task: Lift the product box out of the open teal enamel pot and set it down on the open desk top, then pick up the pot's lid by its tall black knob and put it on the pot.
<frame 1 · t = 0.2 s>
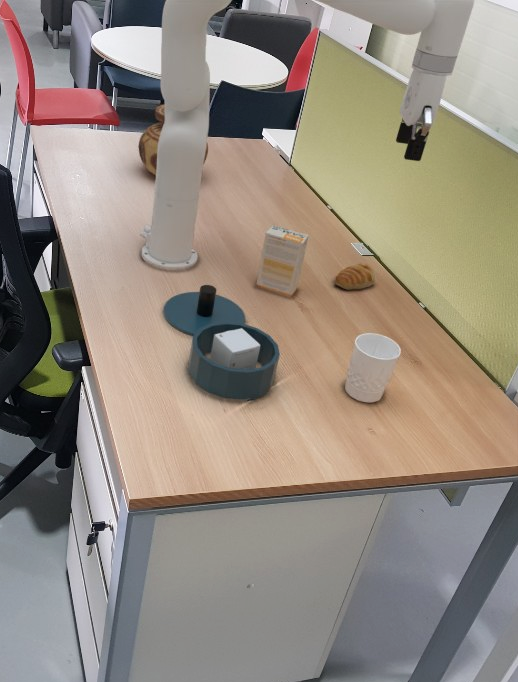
hand: (407, 151, 149), 31 cm above the table, tool pointing down, fingers open, 9 cm apart
product box: (230, 374, 134), resting on pot
pot lid: (204, 315, 148), point 1 cm above the table
white cup: (362, 392, 134), on the table
supplement box: (275, 289, 162), on the table
pot: (230, 375, 134), on the table
pastry: (353, 284, 167), on the table
clay pot: (170, 174, 208), on the table
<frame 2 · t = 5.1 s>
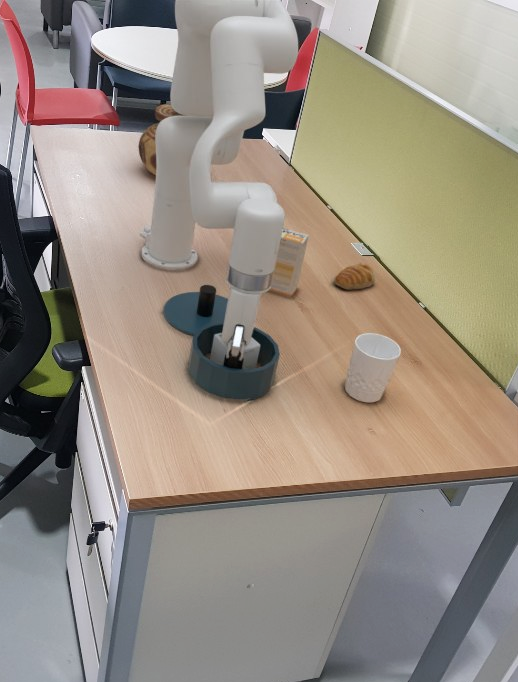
hand: (233, 360, 131), 3 cm above the table, tool pointing down, fingers open, 9 cm apart
nothing on the table moved.
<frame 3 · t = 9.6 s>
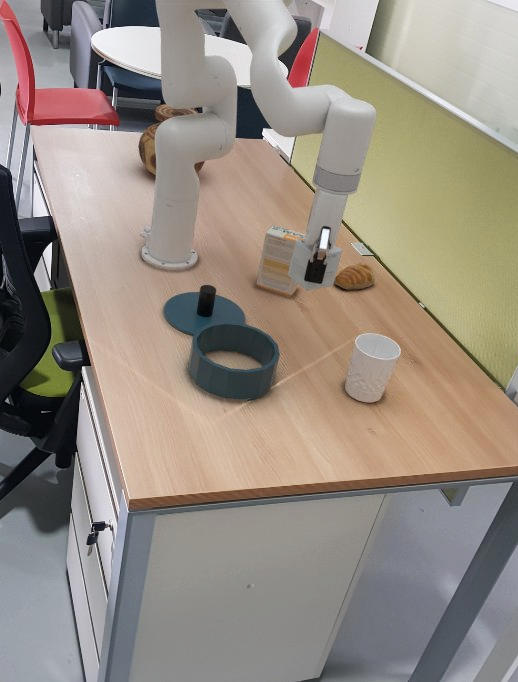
hand: (313, 269, 133), 17 cm above the table, tool pointing down, fingers closed on product box, 8 cm apart
product box: (309, 282, 135), point 14 cm above the table, touching gripper
everything else where it was.
when the fingers open (2 cm above the table, at t = 13.6 s): product box stays where it is, on the table.
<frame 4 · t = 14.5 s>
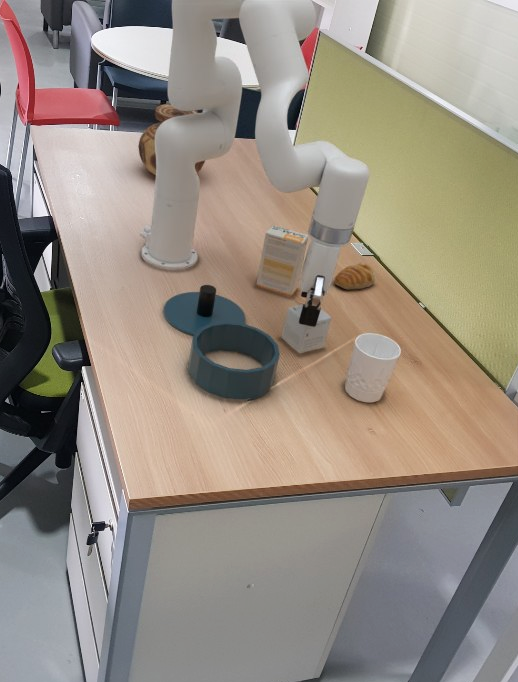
hand: (307, 310, 141), 7 cm above the table, tool pointing down, fingers open, 9 cm apart
product box: (301, 345, 145), on the table, touching gripper
everything else where it was.
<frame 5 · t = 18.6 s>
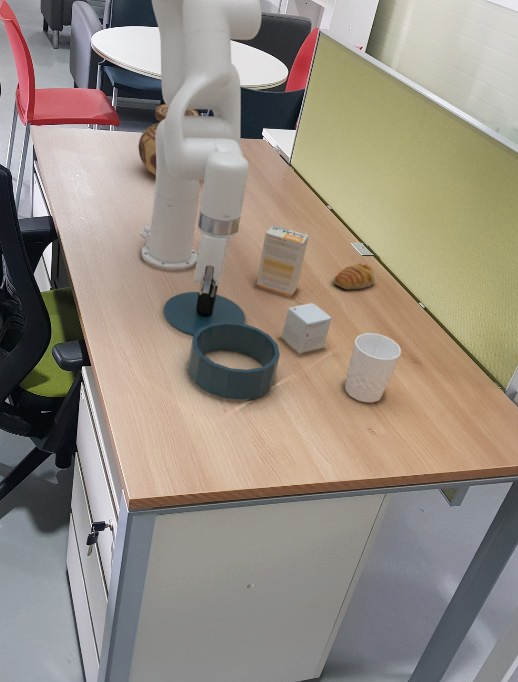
hand: (205, 306, 147), 3 cm above the table, tool pointing down, fingers closed on pot lid, 3 cm apart
product box: (301, 345, 145), on the table
pot lid: (204, 315, 148), point 1 cm above the table, touching gripper
everything else where it was.
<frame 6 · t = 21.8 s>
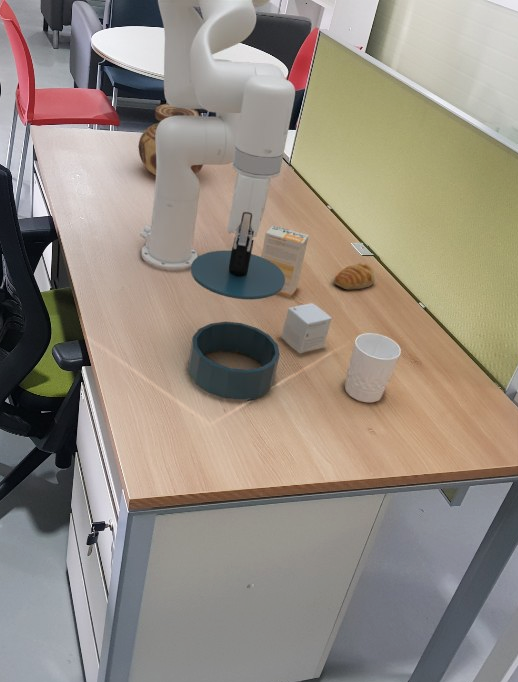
hand: (239, 264, 126), 20 cm above the table, tool pointing down, fingers closed on pot lid, 3 cm apart
pot lid: (237, 275, 128), point 17 cm above the table, touching gripper
everything else where it was.
when the fingers open (9 cm above the table, at t = 25.1 s): pot lid stays where it is, resting on pot.
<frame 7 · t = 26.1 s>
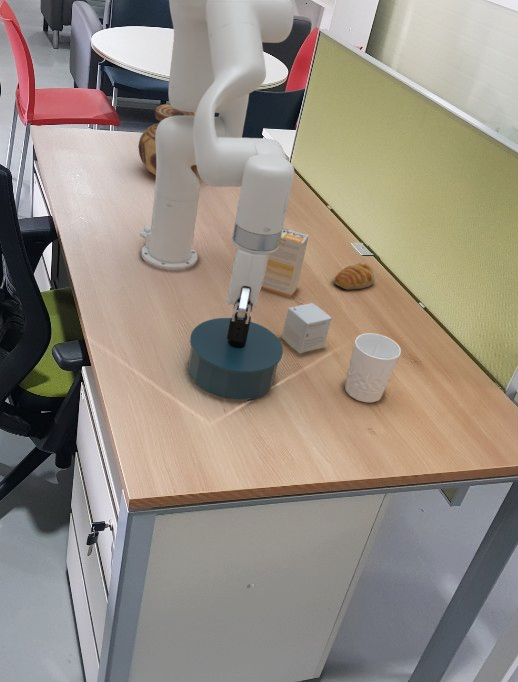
hand: (239, 324, 128), 11 cm above the table, tool pointing down, fingers open, 9 cm apart
pot lid: (236, 345, 130), point 6 cm above the table, touching pot
everything else where it was.
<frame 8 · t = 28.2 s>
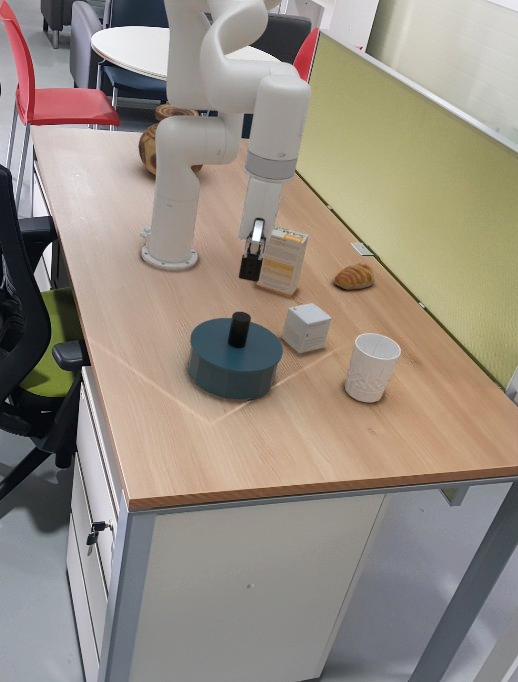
hand: (251, 265, 121), 22 cm above the table, tool pointing down, fingers open, 9 cm apart
nothing on the table moved.
at the end: product box inside the target area (0.1 cm from its centre), on the table; product box tilted 0°; pot lid 0.0 cm off-centre on the pot, point 6.4 cm above the pot's base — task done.
